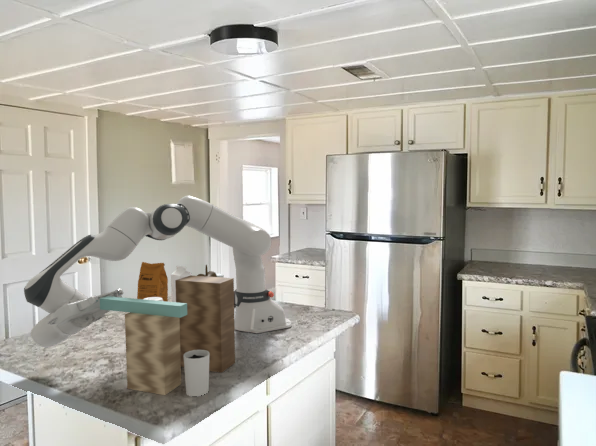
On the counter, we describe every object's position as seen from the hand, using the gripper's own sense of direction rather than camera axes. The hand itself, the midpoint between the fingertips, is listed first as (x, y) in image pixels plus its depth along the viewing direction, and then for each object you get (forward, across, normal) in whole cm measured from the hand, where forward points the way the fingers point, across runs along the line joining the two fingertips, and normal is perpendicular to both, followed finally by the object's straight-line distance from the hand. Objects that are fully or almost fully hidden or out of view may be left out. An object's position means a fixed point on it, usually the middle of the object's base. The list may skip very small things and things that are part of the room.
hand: (108, 294), depth 124 cm
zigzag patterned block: (+1, 0, +28) cm, 28 cm away
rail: (+8, 0, +9) cm, 12 cm away
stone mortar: (-18, +91, +17) cm, 94 cm away
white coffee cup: (+12, +1, +34) cm, 36 cm away
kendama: (-25, +75, +13) cm, 80 cm away
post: (+5, +18, +30) cm, 36 cm away
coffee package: (-42, +63, +4) cm, 76 cm away
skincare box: (-29, +94, +11) cm, 99 cm away
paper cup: (-23, +35, +15) cm, 44 cm away
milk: (-26, +58, +13) cm, 64 cm away
